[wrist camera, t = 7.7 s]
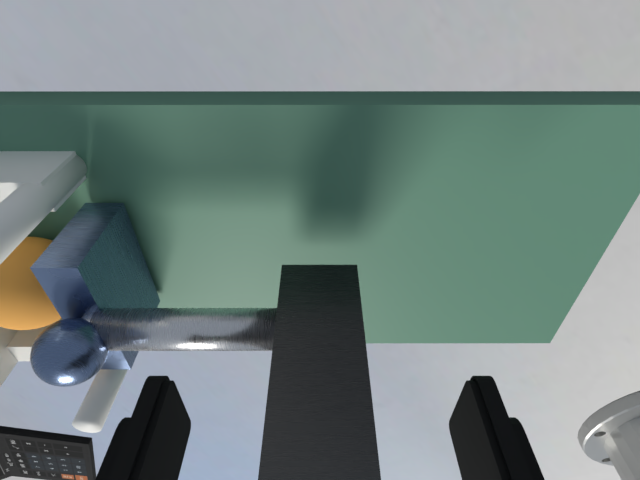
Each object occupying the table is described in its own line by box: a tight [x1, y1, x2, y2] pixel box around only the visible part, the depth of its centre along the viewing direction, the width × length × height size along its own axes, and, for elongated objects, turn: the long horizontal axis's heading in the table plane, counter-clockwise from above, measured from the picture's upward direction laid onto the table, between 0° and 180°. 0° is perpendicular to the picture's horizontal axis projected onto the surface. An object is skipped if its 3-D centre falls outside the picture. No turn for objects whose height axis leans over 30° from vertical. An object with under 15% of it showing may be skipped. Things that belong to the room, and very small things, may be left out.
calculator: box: [0, 426, 96, 480], centre depth 34 cm, size 9×12×3 cm
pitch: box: [0, 91, 640, 433], centre depth 17 cm, size 30×14×8 cm, turn 90°
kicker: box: [30, 203, 381, 480], centre depth 14 cm, size 12×6×10 cm, turn 90°
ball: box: [0, 237, 61, 330], centre depth 17 cm, size 4×4×4 cm
